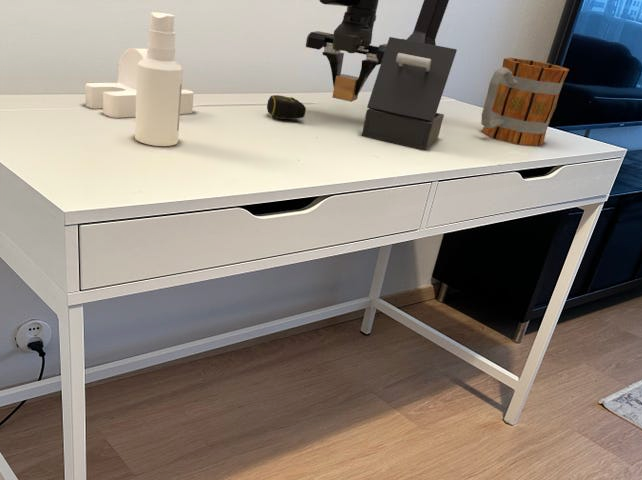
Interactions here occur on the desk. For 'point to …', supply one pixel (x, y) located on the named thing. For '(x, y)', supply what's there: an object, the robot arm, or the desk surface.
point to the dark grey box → (401, 129)
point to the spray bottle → (159, 86)
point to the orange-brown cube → (345, 87)
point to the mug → (522, 101)
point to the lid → (411, 79)
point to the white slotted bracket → (126, 89)
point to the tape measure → (285, 107)
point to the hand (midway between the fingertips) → (345, 93)
